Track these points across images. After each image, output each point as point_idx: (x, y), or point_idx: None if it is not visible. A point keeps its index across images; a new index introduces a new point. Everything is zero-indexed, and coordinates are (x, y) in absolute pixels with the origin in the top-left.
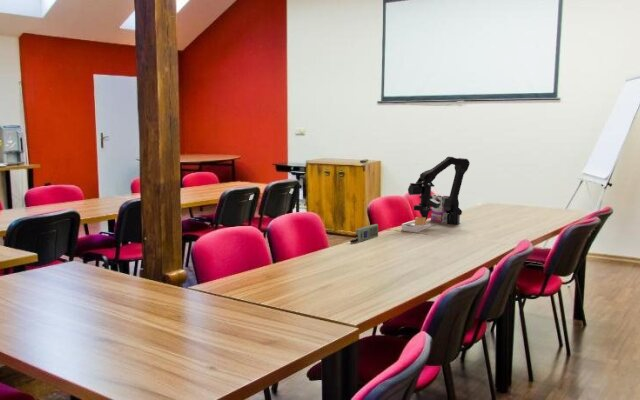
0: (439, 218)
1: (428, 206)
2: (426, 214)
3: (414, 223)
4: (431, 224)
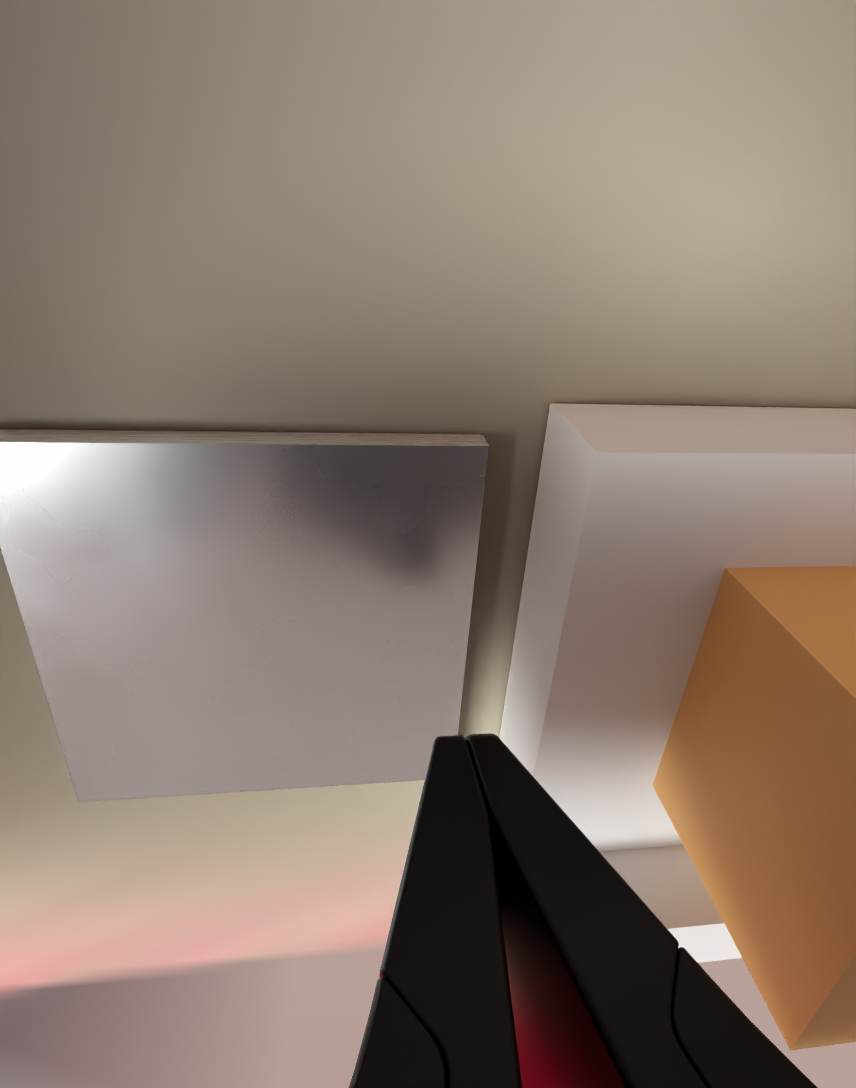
0: None
1: None
2: (705, 1060)
3: None
4: (80, 567)
